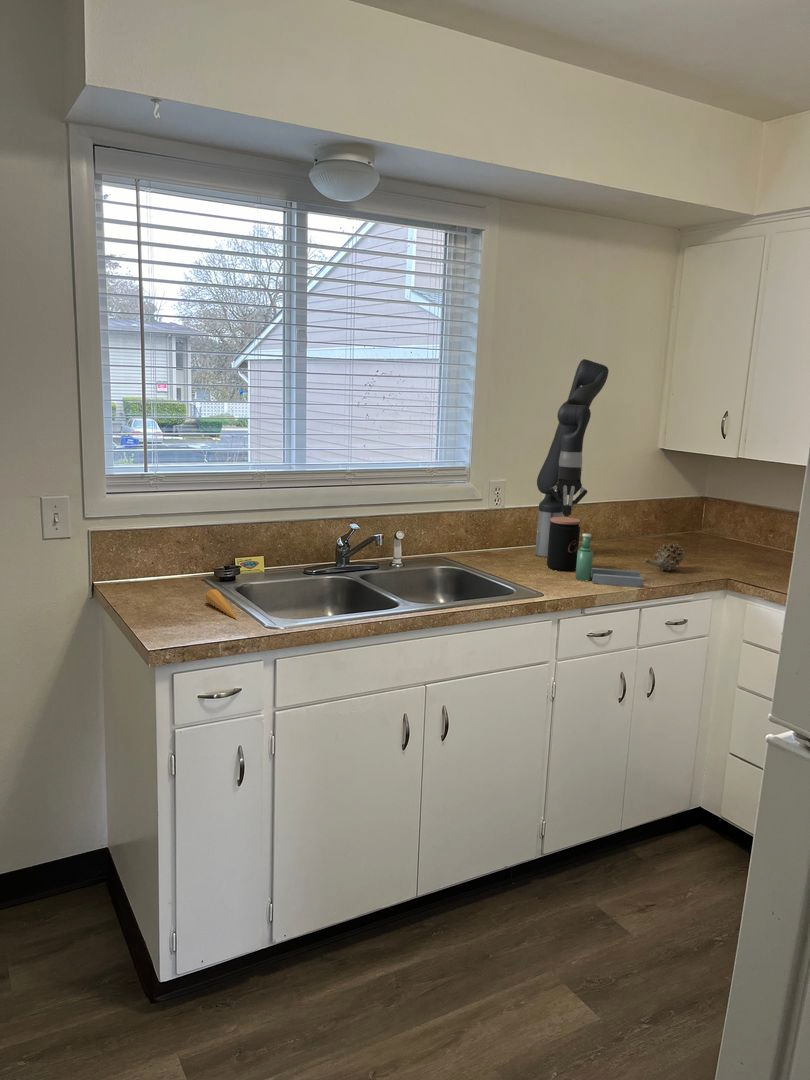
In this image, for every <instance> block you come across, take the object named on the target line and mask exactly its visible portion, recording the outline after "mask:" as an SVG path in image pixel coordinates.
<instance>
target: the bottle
mask: <svg viewBox="0 0 810 1080" xmlns="http://www.w3.org/2000/svg"><path fill="white" fill-rule="evenodd" d="M581 536H582V541H581V543H582V544H581V546H579V547H580V548H578V553H577V565H576V569H575V576H574V577H575V578H576V579H578V580H577V581H579V580H590V581H592V578H591V573H592V568H593V560H594V558H593V557H594V550H592V547H591V538H592V533H585V532H583V533H582V535H581ZM576 579H575V580H576Z"/></svg>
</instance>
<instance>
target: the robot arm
mask: <svg viewBox="0 0 810 1080" xmlns="http://www.w3.org/2000/svg"><path fill="white" fill-rule="evenodd" d="M608 376H609V368H608V367H607V366H606V365H604V364H602V363H599V362H596V361H592V360H589V359H585V358H583V359H582V360H580V362H579V364H578V365H577V368H576V371H575V373H574V377H573V381H572V384H571V386H570V391H569V395H568V397H567V400H566V401H564V402H563V403H562V405H561V406H560V407H559V409H558V411H557V420H558V424H557V428H556V430H555V433H554V436H553V439H552V442H551V445H550V447H549V450H548V453H547V456H546V457H545V460H544V462H543V464H542V466H541V468H540V471H539V473H538V474H537V478H536V479H537V480H536V486H537V490H538V491H539V492H540V493H541V494H544V498H542V500H541V501H540V502H539V504H538V515H537V526H536V528H537V529H536V541H535V551H534V552H535V554H534V555H535V556H538V557H544V558H547V555H548V542H549V529H550V524H551V521H550V518H552V517H570V516H571V515H572V509H573V508H572V507H573V506H574V505H577V504H578V503H580V501H581V500H582V499H583V498H584V497H585V496H586V495H587V494H588V490H587V489H586V488H585V487H583V484H582V470H583V445H584V437H585V434H586V430H587V427H588V426H589V422H590V419H591V416H592V415H591V409H590V407H591V405H592V403H593V400H595V398H596V397H597V396H598V394H600V392H601V391H602V389H603V388H604V386H605V384H606V381H607V380H608ZM577 493H579V495H578V496H576V498H575V499H574V496H575V495H576V494H577Z"/></svg>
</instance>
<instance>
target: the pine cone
mask: <svg viewBox="0 0 810 1080" xmlns="http://www.w3.org/2000/svg"><path fill="white" fill-rule="evenodd" d="M659 546H660V548H659V549H657V550H656V551H657V552H655V554H653V560H651V559H650V558H646V557H645V558H644V559H643V563H645V564H649V565H652V566H653V565H654V566H657V567H658V570H659V571H661V572H664V571H666V570H667V571H666V572H668V571H669V572H670V570H674V569H677V566H680V565H681V564H682V562H683V561H684V559H685V550H684V548H682V545H679V543H676V544H674V543H671V542H670V543H668V542H667V543H666V544H665V543H663V545H659Z"/></svg>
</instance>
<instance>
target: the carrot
mask: <svg viewBox="0 0 810 1080" xmlns="http://www.w3.org/2000/svg"><path fill="white" fill-rule="evenodd" d="M205 600H206V601H207V603H209V604H210V605H211V606H212V607H214V606H215V609H217V608H218V609H217V610H219V611H221V612H222V611H223V612H222V613H223V614H225V613H226V614H225V615H227V616H229V617H231V618H232V617H233V619H234V618H235V620H237V617H236V615H235V612H234V611H233V610H232V608H231V607H230V605H229V603H228V602H227V600H226V599H225V598H224V596H223V595H222V593H221V592H220V591H219V590H218V589H215V588H214V589H213V588H212V589H208V591H207V592H206V593H205Z"/></svg>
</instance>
